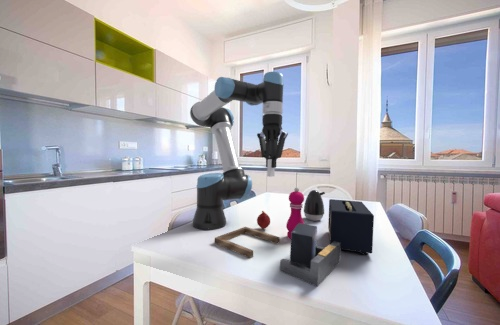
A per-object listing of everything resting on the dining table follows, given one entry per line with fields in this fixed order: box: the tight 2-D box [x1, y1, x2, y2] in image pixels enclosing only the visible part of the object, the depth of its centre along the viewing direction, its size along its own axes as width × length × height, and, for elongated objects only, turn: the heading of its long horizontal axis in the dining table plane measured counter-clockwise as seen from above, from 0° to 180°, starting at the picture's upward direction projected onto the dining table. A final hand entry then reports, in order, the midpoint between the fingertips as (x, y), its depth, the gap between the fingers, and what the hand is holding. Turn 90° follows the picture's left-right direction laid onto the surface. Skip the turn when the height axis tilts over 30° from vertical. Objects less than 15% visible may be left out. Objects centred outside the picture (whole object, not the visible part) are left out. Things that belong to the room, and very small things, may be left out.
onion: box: [256, 210, 271, 230], centre depth 96 cm, size 6×6×8 cm
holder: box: [214, 226, 280, 259], centre depth 81 cm, size 17×17×2 cm
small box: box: [289, 223, 318, 269], centre depth 67 cm, size 11×6×10 cm, turn 156°
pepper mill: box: [285, 187, 305, 240], centre depth 87 cm, size 7×7×20 cm
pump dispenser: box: [303, 189, 326, 222], centre depth 112 cm, size 10×10×15 cm
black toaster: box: [327, 198, 375, 255], centre depth 83 cm, size 22×13×15 cm, turn 162°
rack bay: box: [279, 241, 341, 287], centre depth 64 cm, size 11×17×6 cm, turn 140°
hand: (270, 176), depth 84 cm, fingers closed
